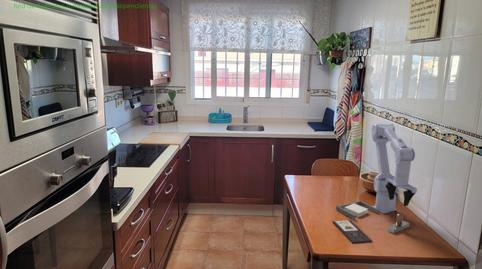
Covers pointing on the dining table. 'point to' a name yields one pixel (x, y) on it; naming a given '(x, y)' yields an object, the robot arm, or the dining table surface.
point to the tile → (356, 210)
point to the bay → (342, 207)
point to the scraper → (398, 224)
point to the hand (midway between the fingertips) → (398, 202)
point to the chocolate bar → (352, 231)
